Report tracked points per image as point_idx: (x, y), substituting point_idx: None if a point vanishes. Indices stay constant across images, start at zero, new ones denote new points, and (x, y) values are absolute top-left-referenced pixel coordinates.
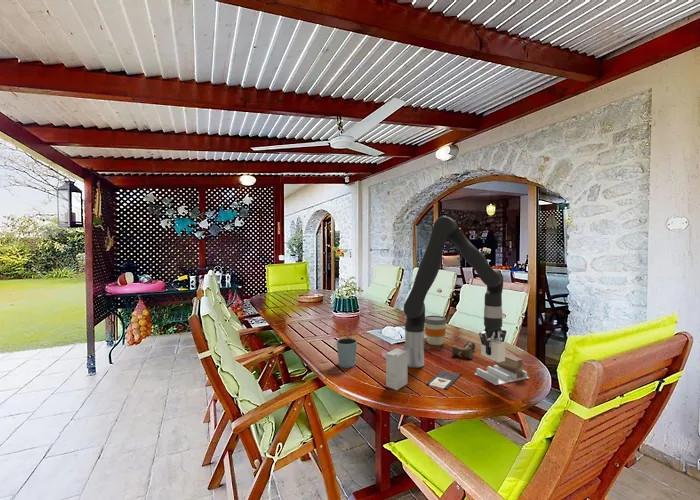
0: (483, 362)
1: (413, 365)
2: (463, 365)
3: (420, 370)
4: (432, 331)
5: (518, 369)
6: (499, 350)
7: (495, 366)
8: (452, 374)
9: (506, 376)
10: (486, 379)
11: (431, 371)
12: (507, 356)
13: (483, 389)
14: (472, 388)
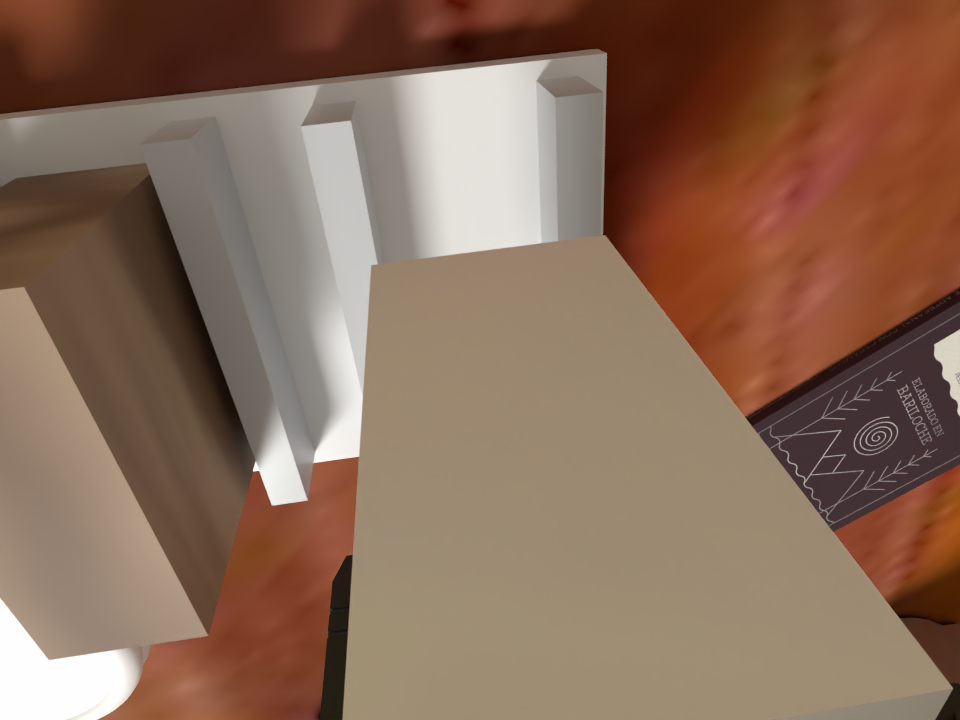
0: (269, 637)
1: (947, 636)
2: None
3: (931, 576)
4: None
5: (35, 216)
6: (658, 426)
7: (299, 470)
8: (793, 460)
9: (357, 143)
10: None
11: (873, 549)
12: (97, 517)
13: (801, 42)
14: (892, 116)
